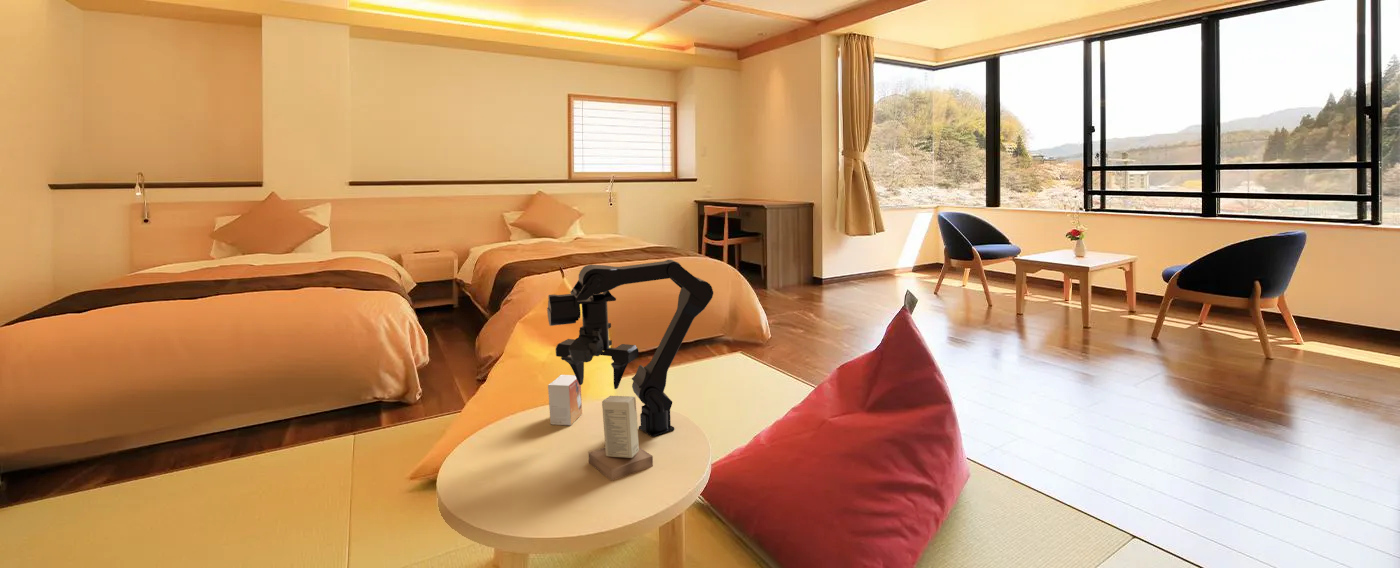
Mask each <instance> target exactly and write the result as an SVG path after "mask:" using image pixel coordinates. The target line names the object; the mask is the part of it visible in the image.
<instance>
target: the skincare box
mask: <svg viewBox="0 0 1400 568" xmlns="http://www.w3.org/2000/svg"><path fill="white" fill-rule="evenodd" d="M636 398H637V397H636V396H626V395H625V396H624V395H623V396H622V395H620V396H619V395H609V396H608V397H606V398H604V399H603V400H602V401H601V408H602V419H603V420H602V421H603V433H604V447H605V451H606V456H611V457H626V458H632V457H633V456H634V455H635V454H636V453H637V452H638V451H639V447H640V446H639V426H638V413H637V412H638V411H637V399H636Z"/></svg>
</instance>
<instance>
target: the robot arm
mask: <svg viewBox="0 0 1400 568" xmlns="http://www.w3.org/2000/svg"><path fill="white" fill-rule="evenodd" d="M668 279H670V280H671V281H672V282H673V283H674V284H675V285H677V286H678V288H680V290H679V291H680V292H679V294H678V298H677V306H676V307H677V308H676V310H675V313H674V314H673V317H672V318H671V320H670V322H669V325H668V327H666V330H665V332H664V334H663V336H662V339H660V340H661V341H660V342H659V345H657V349H656V351H655V352H654V354H653V356H652V359H651V360H650V361H649V362H648V363H647V364H646V365H645V366H643V365H642V364H639V365H638V367H637V370H636V373H635V374H634V375H633V376H632V378H631V380H632V385H631V387H632V391H633V393H634V394H635V396H637V398H638V399H639V401H641V403H642V404H643V405H641V412H640V413H639V414H640V415H639V416H640V425H639V426H638V430H640V429H641V430H640V431H642V430H643V431H642V432H644V433H646V434H647V433H648V434H647V435H649V436H650V437H657V436H659V434H660V435H662V434H661V433H663V434H665V432H666V433H669V432H672V431H674V430H675V427H674V426H672V425H671V424H672V423H671V408H672V405H673V401H672V400H671V399H670V398H669V396H668V395H667V394H666V393H665V388H666V385H667V377H668V371H669V369H670V367H671V364H672V363H673V361H674V359H675V358H676V357H675V356H676V355H677V353H678V352H679V351H678V350H679V348H680V347H681V345H682V343H683V342H684V339H685V337H686V335H687V333H688V331H689V329H690V327H691V325H692V323H693V321H694V320H695V318H696V317H697V316H698V315H700V314H701V313H702V312H703V311H704V310H705V309H706V308H707V306H708V305H709V304H710V302H711V301H712V298H713V295H714V289H713V287H712V285H711V284H710V283H709V282H708V281H705V280H704V279H701V278H699V277H696V276H695V275H693V274H692V273H691V272H689V271H688V270H687V269H686V268H685V267H683V266H682V265H681V263H680V262H677V261H675V260H673V259H666V260H663V261H655V262H647V263H639V264H631V265H624V266H623V265H622V266H611V265H603V264H587V265H585V266H583V267H582V268H581V269H580V271H579V274H578V280H577V282H576V283H575V284H574V286H573V287H572V289H571V291H570V292H569V293H564V294H548V296H547V297H548V301H547V307H546V311H547V312H546V313H547V319H548V325H549V326H550V327H552V326H561V325H572V324H576V323H577V321H579V319H582V326H580V327H579V330H578V332H579V333H578V337H577V338H575V339H574V338H567V339H565V340H563V341H561V342H559V343H557V344H556V347H555V356H556V357H558V358H560V359H561V360H562V361H565V362H566V363H568V364H569V366H570V368H571V369H572V372H573V373H574V374H573V375H575V376H576V378H577V381H578V383H579V385H581V386H582V385H583V383H584V380H585V379H584V378H585V376H584V375H585V363H589V362H591V361H592V360H593V358H594V357H600V356H606V357H611V360H612V362H611V363H610V365H611V367H612V369H613V387H614V388H613V389H614V390H617V389H618V388H619V386H620V383H621V381H622V378H623V376H624V374H625V371H626V368H627V366H628V364H629V363H631V362H633V361H634V360H635V359H637V358H639V348H638V347H637V346H636V344H628V343H627V344H626V343H621V344H620V345H618V346H616V347H610V346H612V345H613V343H612V342H613V341H612V340H611V339H610V338H609V336H610V335H609V329H611V328H612V323H611V322H609V318H608V317H609V315H608V302H615V301H617V297H615V296H614V295H612V293H611V290H614V289H615V288H618V287H620V286H624V285H629V284H637V283H644V282H651V281H658V280H660V281H661V280H668ZM671 430H672V431H671ZM668 431H669V432H668ZM656 435H657V436H656Z"/></svg>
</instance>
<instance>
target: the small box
mask: <svg viewBox="0 0 1400 568" xmlns="http://www.w3.org/2000/svg"><path fill="white" fill-rule="evenodd" d="M547 391H548V392H547V394H548V406H549V420H550V421H549V422H550V425H554V426H555V425H557V426H572V425H573V423H575V421H577V420H578V419H579V417H581V416H582V415H583V404H582V403H583V402H582V400H583V399H582V385H579V383H578V381H577V378H576V376H575V374H560V375H559V376H557V378H555V379H554V380H553V381H551V382H550V383H549V384H547Z"/></svg>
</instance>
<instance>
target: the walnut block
mask: <svg viewBox="0 0 1400 568" xmlns="http://www.w3.org/2000/svg"><path fill="white" fill-rule="evenodd" d="M653 457H654V456H653V455H652V454H651V453H649V452H647V451H646V450H644V449H643V448H642V447H640V446H639V451H638V452H637V453H636V454H635V455H634V456H633V457H632V458H626V457H611V456H606V451H605V446H604V447H601V448H599V449H595V450H592V451H588V463H589V464H590V465H591V466H592V467H593V468H595V469H596V470H598V471H599V472H600V473H601V474H602V475H604V476H605V477H606V478H608V479H609V480H610V481H615V480H618V479H620V478H623V477H626V476H629V475H632V474H634V473H638V472H641V471H643V470H645V469H649V468H652V467H653V466H654V461H653Z"/></svg>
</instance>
